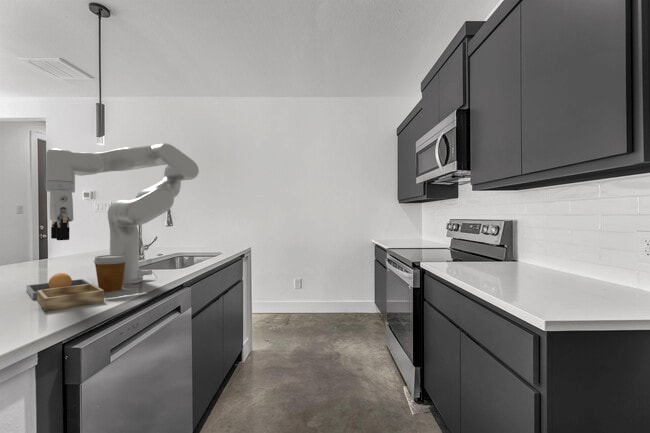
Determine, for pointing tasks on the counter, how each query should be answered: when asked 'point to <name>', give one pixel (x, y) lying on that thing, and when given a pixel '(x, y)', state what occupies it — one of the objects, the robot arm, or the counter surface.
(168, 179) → the robot arm
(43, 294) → the tray
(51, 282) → the ball
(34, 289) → the container
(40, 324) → the counter surface
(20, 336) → the counter surface
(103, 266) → the disposable coffee cup
